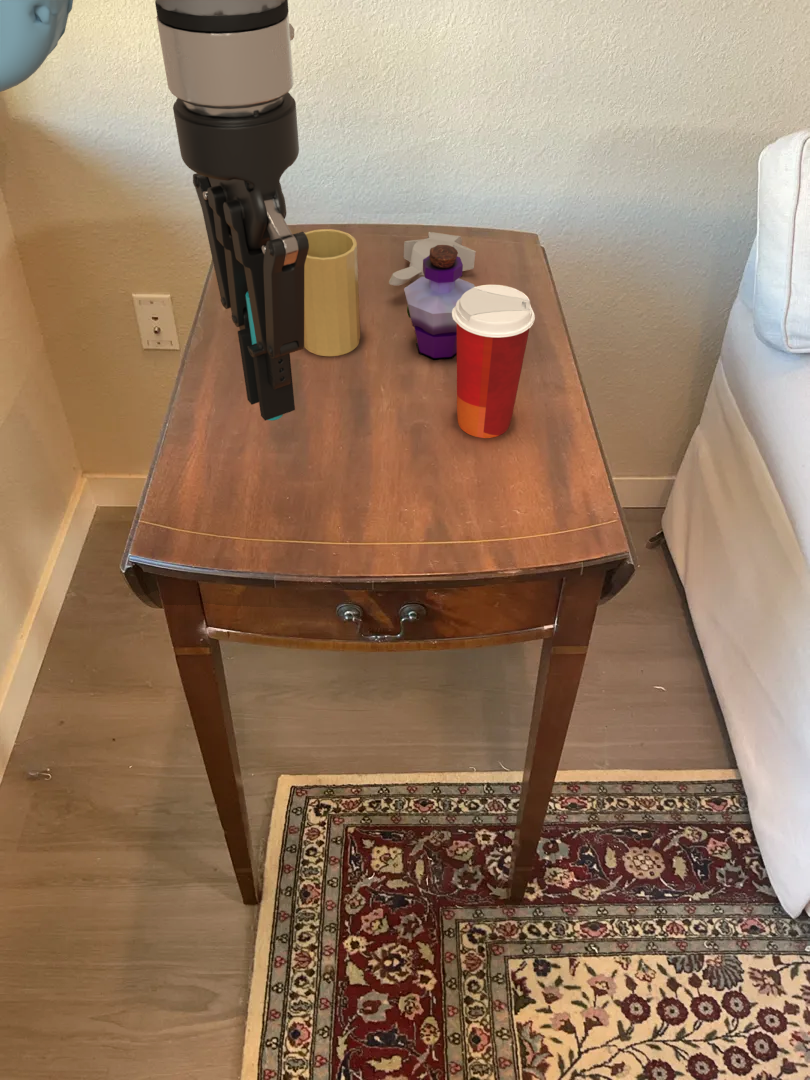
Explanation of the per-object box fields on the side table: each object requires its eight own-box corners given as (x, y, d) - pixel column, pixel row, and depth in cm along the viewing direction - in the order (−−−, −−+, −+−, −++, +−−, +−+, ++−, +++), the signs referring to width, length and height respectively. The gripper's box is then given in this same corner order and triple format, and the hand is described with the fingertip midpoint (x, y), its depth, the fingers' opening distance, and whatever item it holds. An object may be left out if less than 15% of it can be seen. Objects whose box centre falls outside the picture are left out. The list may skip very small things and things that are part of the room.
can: (319, 362, 95) (311, 265, 86) (292, 335, 99) (282, 238, 90) (370, 345, 98) (368, 248, 89) (341, 318, 102) (336, 223, 93)
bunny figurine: (484, 229, 109) (458, 271, 98) (480, 267, 113) (454, 312, 102) (414, 219, 111) (381, 259, 100) (413, 257, 114) (380, 300, 103)
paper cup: (520, 401, 90) (536, 283, 80) (520, 447, 85) (536, 327, 75) (448, 397, 91) (454, 279, 81) (443, 442, 86) (450, 321, 75)
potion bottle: (412, 322, 101) (414, 227, 93) (482, 332, 100) (490, 237, 91) (393, 361, 95) (393, 264, 87) (467, 373, 94) (475, 275, 85)
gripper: (347, 122, 48) (356, 438, 65) (238, 51, 57) (271, 348, 74) (228, 148, 45) (270, 472, 62) (131, 69, 54) (192, 373, 71)
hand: (271, 404), depth 68 cm, fingers closed on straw, 2 cm apart
